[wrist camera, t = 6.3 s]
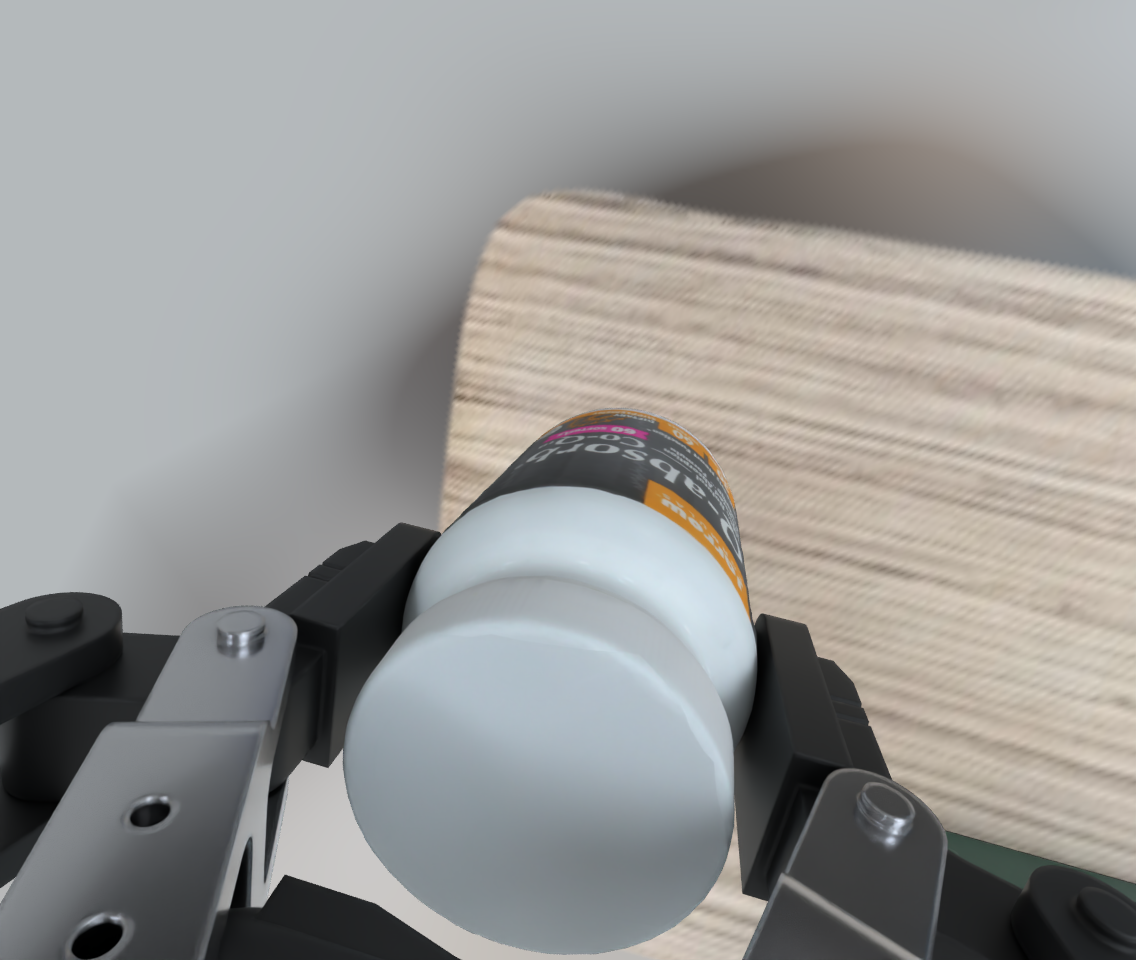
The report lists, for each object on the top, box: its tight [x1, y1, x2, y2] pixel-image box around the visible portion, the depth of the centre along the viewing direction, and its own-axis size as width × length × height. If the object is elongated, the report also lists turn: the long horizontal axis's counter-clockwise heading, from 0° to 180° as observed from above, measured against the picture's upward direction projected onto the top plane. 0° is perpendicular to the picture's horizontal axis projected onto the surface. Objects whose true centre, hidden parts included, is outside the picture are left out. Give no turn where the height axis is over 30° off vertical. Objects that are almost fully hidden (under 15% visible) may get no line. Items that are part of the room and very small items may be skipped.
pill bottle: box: [343, 408, 758, 955], centre depth 12 cm, size 6×6×10 cm
